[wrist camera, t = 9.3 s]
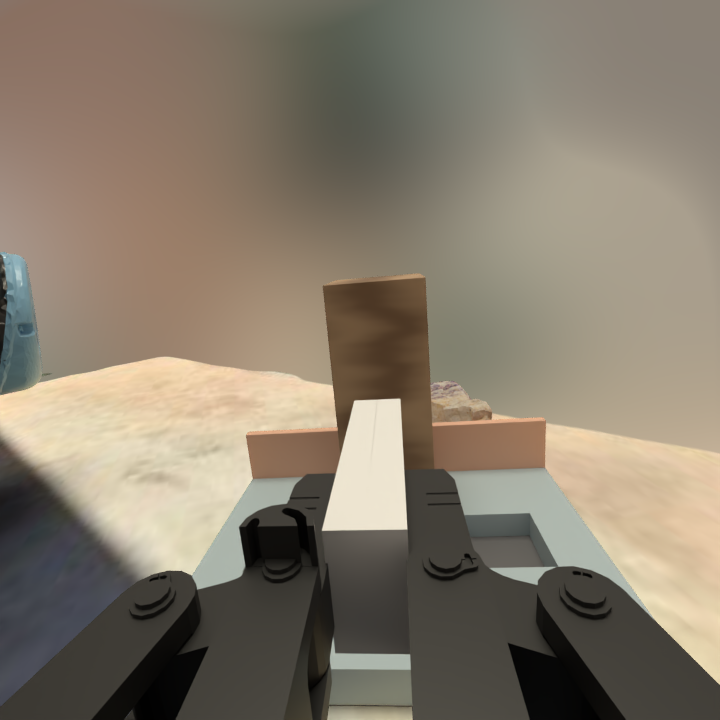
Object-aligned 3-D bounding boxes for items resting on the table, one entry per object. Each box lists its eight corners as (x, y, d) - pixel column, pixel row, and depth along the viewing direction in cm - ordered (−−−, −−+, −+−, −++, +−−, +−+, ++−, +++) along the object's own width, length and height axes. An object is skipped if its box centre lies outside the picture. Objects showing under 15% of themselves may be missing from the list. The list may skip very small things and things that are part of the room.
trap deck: (142, 702, 20) (114, 595, 18) (258, 495, 37) (248, 431, 36) (686, 709, 18) (701, 587, 16) (541, 485, 35) (542, 417, 33)
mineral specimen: (527, 455, 40) (528, 393, 39) (473, 479, 37) (472, 412, 35) (439, 418, 51) (437, 369, 49) (390, 434, 47) (387, 382, 46)
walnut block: (347, 524, 28) (322, 285, 25) (355, 478, 34) (336, 280, 31) (436, 521, 28) (425, 277, 24) (429, 476, 34) (419, 273, 30)
